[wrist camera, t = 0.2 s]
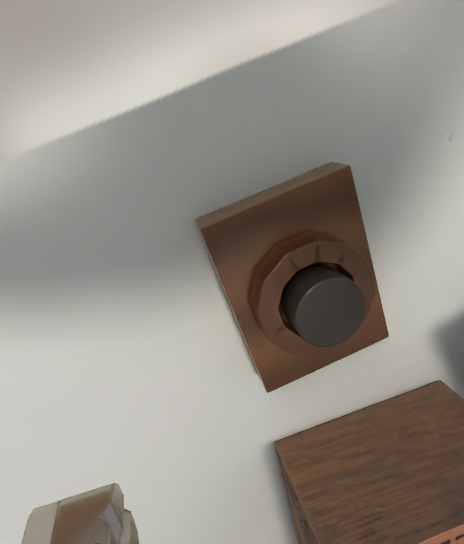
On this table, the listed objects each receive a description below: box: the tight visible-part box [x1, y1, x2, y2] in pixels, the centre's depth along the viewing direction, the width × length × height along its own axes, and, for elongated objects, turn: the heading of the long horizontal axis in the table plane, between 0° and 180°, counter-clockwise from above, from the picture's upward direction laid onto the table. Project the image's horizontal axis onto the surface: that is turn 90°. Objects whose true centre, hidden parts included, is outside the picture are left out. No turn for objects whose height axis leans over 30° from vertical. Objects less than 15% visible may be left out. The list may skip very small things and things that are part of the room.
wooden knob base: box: [195, 162, 389, 392], centre depth 24 cm, size 12×9×4 cm
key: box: [283, 265, 366, 347], centre depth 22 cm, size 4×4×2 cm
